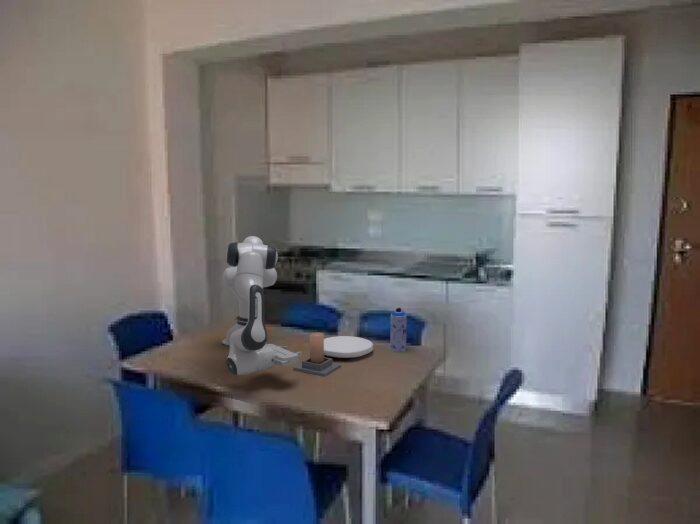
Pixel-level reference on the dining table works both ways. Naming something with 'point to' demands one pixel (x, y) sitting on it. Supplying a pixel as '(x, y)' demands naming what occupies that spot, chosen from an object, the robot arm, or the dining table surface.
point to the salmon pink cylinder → (317, 348)
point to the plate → (347, 346)
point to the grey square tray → (317, 367)
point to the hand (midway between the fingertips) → (294, 350)
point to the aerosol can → (398, 331)
